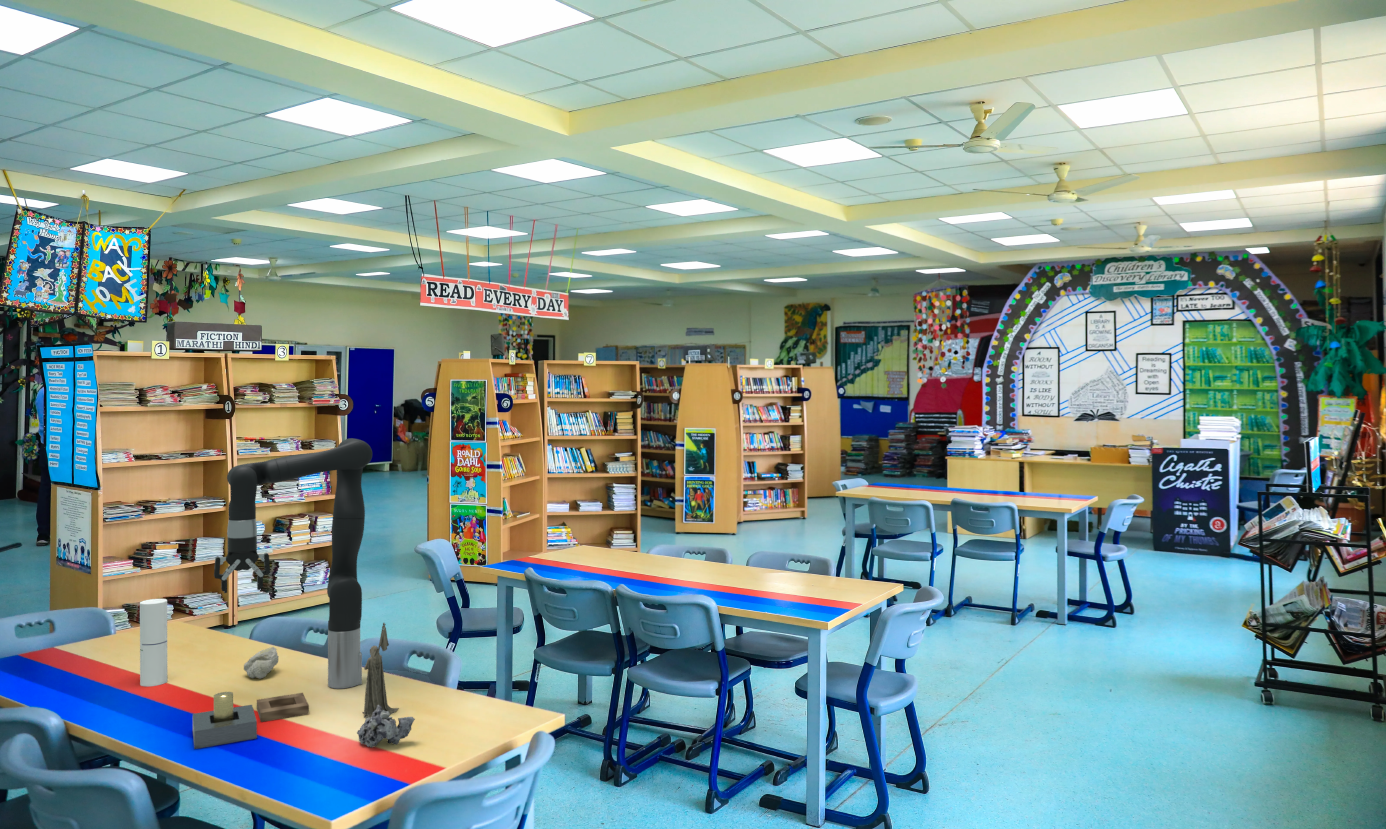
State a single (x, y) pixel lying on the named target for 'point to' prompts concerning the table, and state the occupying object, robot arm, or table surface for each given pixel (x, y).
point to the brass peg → (223, 707)
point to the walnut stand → (282, 707)
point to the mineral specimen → (383, 728)
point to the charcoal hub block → (224, 728)
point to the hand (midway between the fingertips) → (242, 591)
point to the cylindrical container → (153, 642)
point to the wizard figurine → (376, 679)
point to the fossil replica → (261, 663)
